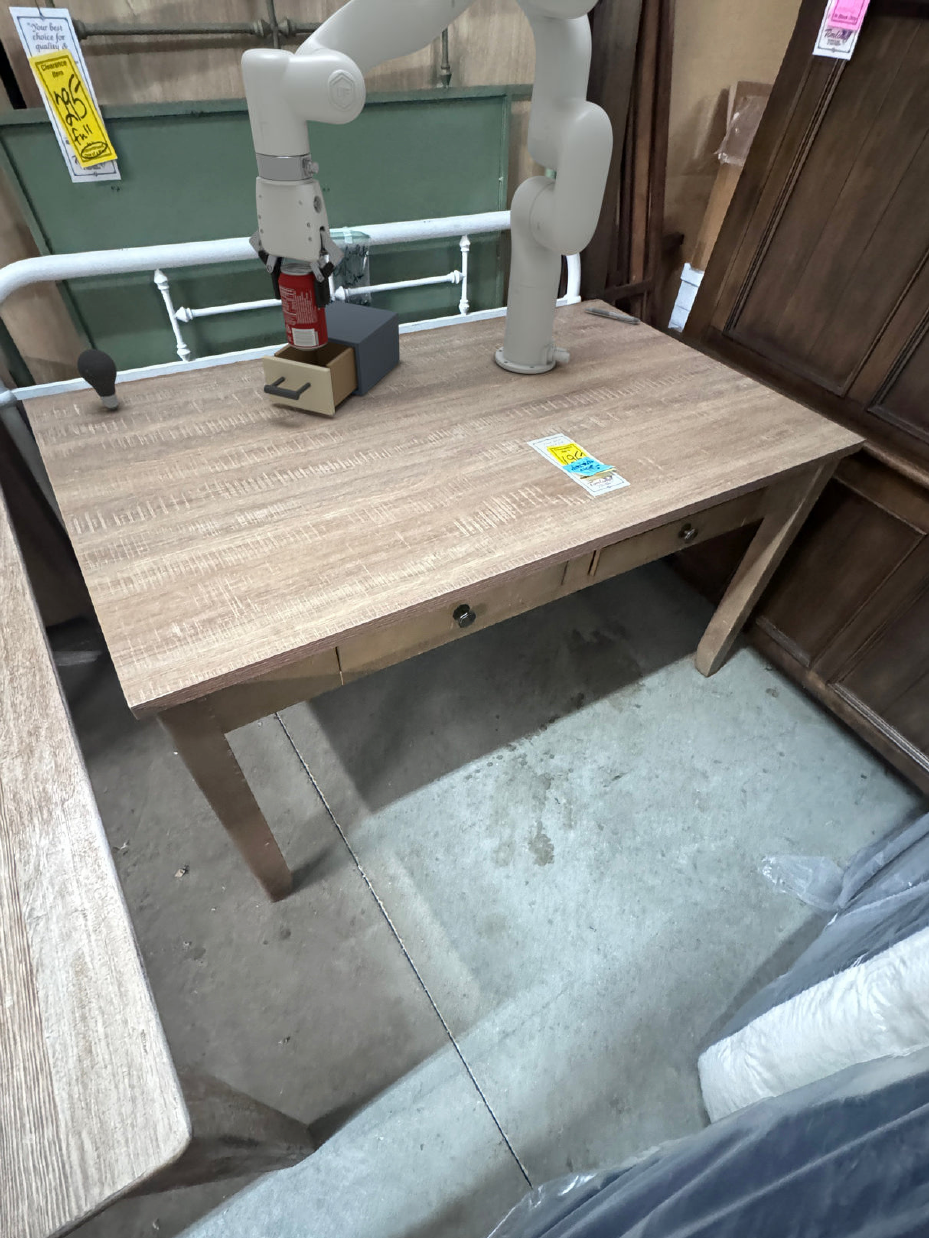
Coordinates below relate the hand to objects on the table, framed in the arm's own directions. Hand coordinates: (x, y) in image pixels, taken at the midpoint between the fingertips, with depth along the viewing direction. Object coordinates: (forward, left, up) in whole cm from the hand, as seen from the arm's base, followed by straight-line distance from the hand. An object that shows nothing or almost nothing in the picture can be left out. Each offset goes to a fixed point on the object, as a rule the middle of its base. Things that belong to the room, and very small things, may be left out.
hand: (302, 300), depth 100 cm
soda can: (0, 0, -7) cm, 7 cm away
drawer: (0, 0, -16) cm, 16 cm away
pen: (-42, -66, -17) cm, 80 cm away
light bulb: (+30, +18, -17) cm, 39 cm away
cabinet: (0, -13, -17) cm, 22 cm away
